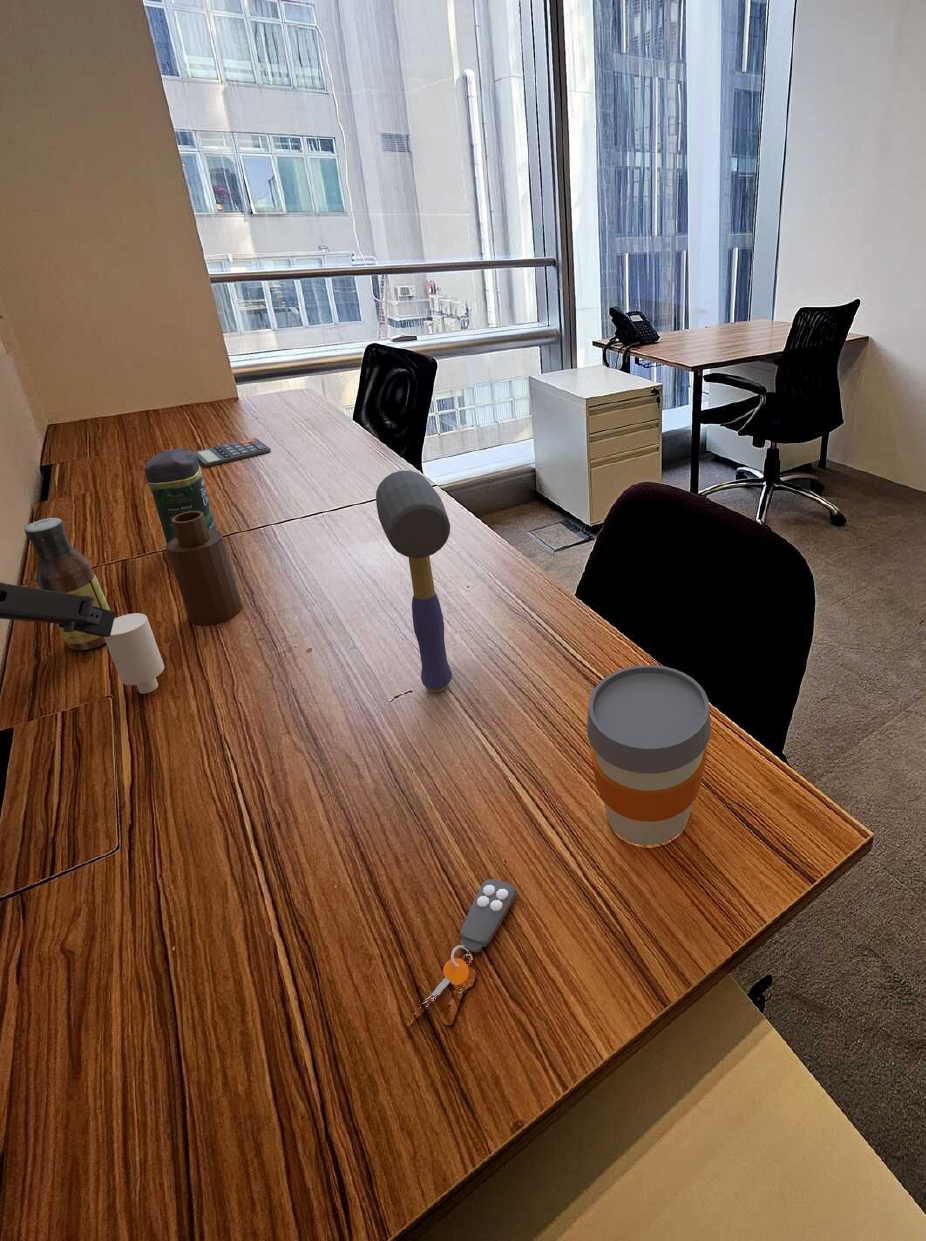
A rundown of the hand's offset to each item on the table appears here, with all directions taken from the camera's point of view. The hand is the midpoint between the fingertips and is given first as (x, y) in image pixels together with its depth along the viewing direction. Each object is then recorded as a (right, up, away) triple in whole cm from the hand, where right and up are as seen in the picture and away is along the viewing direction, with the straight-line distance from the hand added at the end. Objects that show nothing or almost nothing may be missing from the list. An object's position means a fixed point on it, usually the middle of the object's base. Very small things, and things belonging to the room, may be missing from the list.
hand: (45, 626), depth 75 cm
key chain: (+51, -26, -15) cm, 59 cm away
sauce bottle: (-16, -8, +26) cm, 32 cm away
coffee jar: (-18, +4, +53) cm, 56 cm away
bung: (-1, -12, +17) cm, 20 cm away
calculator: (-38, +25, +98) cm, 108 cm away
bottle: (-2, -4, +33) cm, 33 cm away
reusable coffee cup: (+67, -20, -1) cm, 70 cm away
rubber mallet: (+38, -12, +17) cm, 44 cm away
